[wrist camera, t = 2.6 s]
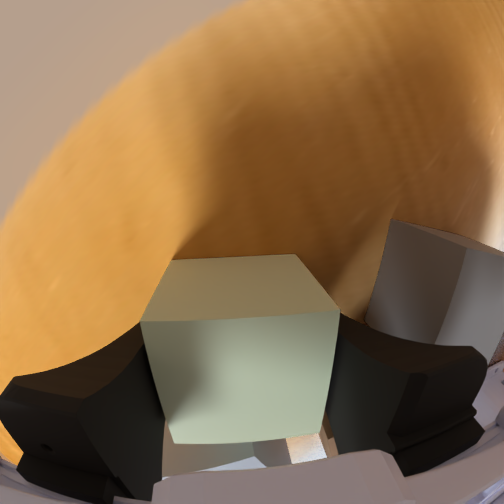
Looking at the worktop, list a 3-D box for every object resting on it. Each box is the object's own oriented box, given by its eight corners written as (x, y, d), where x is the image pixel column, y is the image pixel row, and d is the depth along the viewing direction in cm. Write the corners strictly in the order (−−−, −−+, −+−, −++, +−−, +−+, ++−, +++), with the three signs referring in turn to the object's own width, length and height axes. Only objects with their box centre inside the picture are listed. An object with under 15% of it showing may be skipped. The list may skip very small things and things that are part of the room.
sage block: (295, 253, 12) (340, 309, 7) (291, 354, 13) (319, 432, 8) (171, 260, 11) (139, 321, 7) (185, 361, 13) (174, 443, 8)
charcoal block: (459, 234, 13) (527, 262, 8) (433, 319, 14) (487, 365, 9) (390, 218, 12) (467, 247, 7) (363, 319, 13) (416, 381, 8)
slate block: (244, 375, 13) (254, 456, 9) (282, 426, 15) (299, 494, 10) (162, 405, 14) (149, 479, 9) (210, 450, 15) (211, 514, 10)
